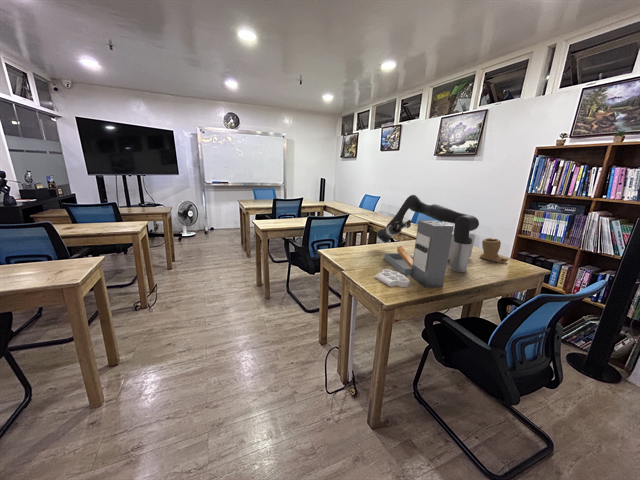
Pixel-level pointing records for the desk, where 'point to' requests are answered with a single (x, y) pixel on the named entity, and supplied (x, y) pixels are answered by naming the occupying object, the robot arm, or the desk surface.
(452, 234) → the grey angular piece
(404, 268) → the tray
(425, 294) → the desk surface
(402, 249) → the orange block
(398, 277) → the white brass knuckles
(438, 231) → the cabinet
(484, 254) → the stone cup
